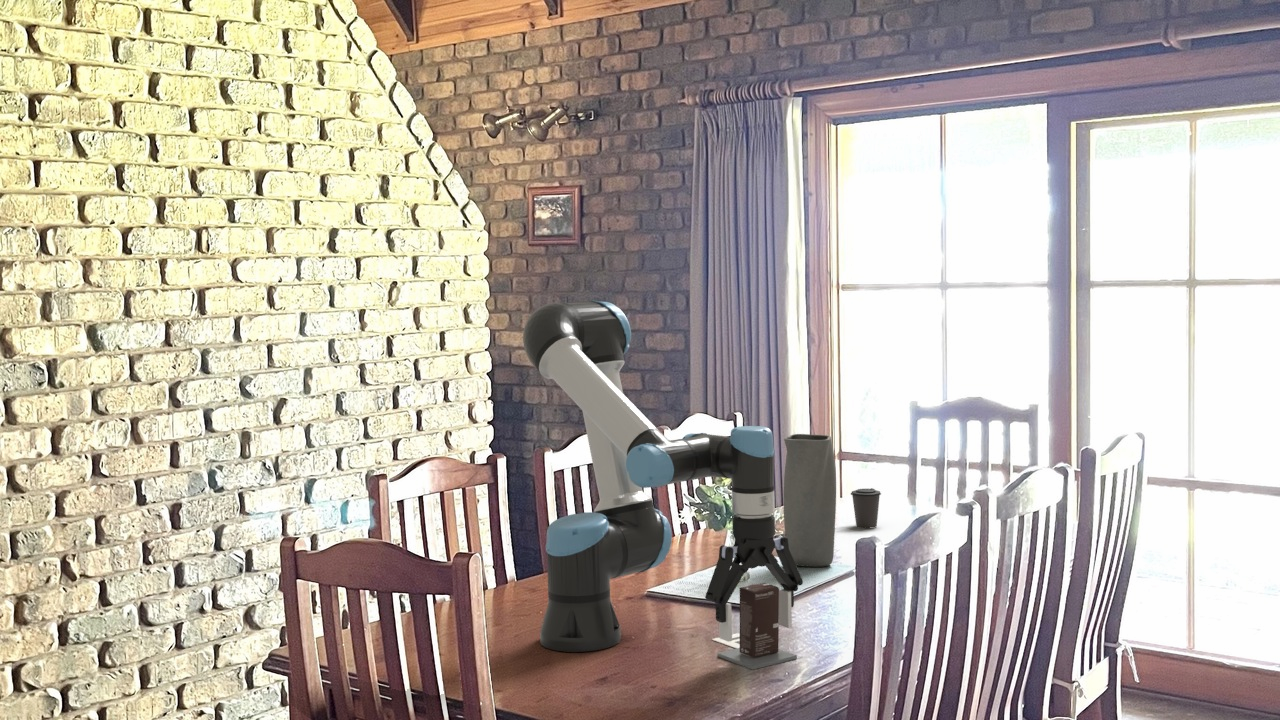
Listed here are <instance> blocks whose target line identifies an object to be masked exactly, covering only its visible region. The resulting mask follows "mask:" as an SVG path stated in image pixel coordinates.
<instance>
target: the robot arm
mask: <svg viewBox="0 0 1280 720" xmlns="http://www.w3.org/2000/svg"><path fill="white" fill-rule="evenodd" d="M626 316H627V315H625V313H624V312H623V311H622V310H621V308H619V307H618V306H617V305H615V304H614V303H611V302H609V301H599V300H588V301H587V300H586V301H573V302H551V303H547V304H546V303H545V305H542V306H540V307H538V308H537V309H536V310H534V312H533V313H532V314H530V316H529V317H528V319H527V320H526V323H525V325H524V328H523V333H522V342H523V344H522V345H523V349H524V351H525V354H526V356H527V358H528V360H529V362H530V364H532V366H533V367H534V368H535V370H536V371H538V373H539V374H540V375H541V376H542V377H543V378H544V379H546V380H553V381H554V382H555V383H556V384H557V385H558V386H559V387H560V389H562V390H563V392H565V394H566V395H567V396H568V397H569V398H570V399H571V400H572V401H573V402H574V403H575V404H576V405H577V406H578V407H579V409H580V410H581V411H582V416H583V420H584V425H585V430H586V437H587V441H588V446H589V452H590V455H591V456H590V457H591V461H592V462H591V463H592V465H593V467H592V468H593V470H594V477H595V481H596V486H597V493H598V496H599V497H598V498H599V502H598V504H597V505H596V506H595V508H594V509H593V512H581V513H573V514H567V515H564V516H562V517H560V518H558V519H555V520H554V521H552V522H551V523H550V524H549V525H548V527H547V530H546V543H545V551H546V568H547V596H548V598H547V599H548V602H547V605H546V610H545V613H544V617H543V620H542V624H541V627H540V631H539V637H540V638H539V639H540V640H539V641H540V645H541V646H542V647H544V648H546V649H549V650H553V651H556V652H557V651H558V652H568V653H580V652H581V653H582V652H583V653H584V652H585V653H586V652H592V651H593V652H594V651H600V650H605V649H608V648H612V647H613V646H616V645H617V644H619V643H620V642H621V640H622V637H621V632H622V631H621V626H620V623H619V621H618V620H619V619H618V618H617V614H616V612H615V609H614V606H613V603H612V601H611V600H612V599H611V585H610V584H611V583H610V582H611V580H613V579H617V578H621V577H624V576H628V575H632V574H637V573H638V574H639V573H644V572H647V571H649V570H650V569H653V568H656V567H658V566H660V565H661V564H662V563H663V562H664V561H665V560H666V558H667V556H668V554H669V552H670V551H671V546H672V540H673V539H672V528H671V525H670V522H669V519H668V518H667V517H666V516H664V513H663V512H662V511H661V510H659V509H656V508H655V506H654V501H653V498H652V497H650V496H649V495H648V494H647V493H645V492H644V491H643V488H645V489H646V488H647V489H648V488H660V487H665V486H666V485H672V484H677V483H681V482H687V481H694V480H699V479H703V478H704V479H705V478H711V477H714V478H723V479H729V480H731V512H732V513H733V514H734V515H733V516H732V518H731V519H732V535H733V537H734V538H733V539H734V544H733V546H731V545H730V546H727V545H723V544H721V545H720V546H719V549H718V550H719V552H718V560H717V562H716V564H715V568H714V571H713V574H712V577H711V579H710V582H709V585H708V587H707V591H706V593H705V596H704V598H705V600H706V601H709V602H712V603H714V604H715V605H714V606H715V620H716V622H718V637H719V638H720V639H723V640H726V641H728V642H729V641H732V634H733V627H732V626H733V625H732V624H733V622H732V615H733V614H732V603H729V600H730V599H731V597H732V595H733V593H734V592H735V589H736V588H737V586H738V584H739V583H740V582H741V579H742V577H743V576H744V575H745V573H747V572H749V570H750V569H755V568H757V567H766V568H767V570H768V571H769V572H770V573H771V575H772V576H773V578H774V579H775V580H776V581H777V582H778V584H779V585H780V587H781V588H779V626H782V627H785V628H788V629H790V628H792V627H793V624H792V623H793V622H792V621H793V620H792V619H793V618H792V615H793V614H792V608H793V607H794V605H795V602H794V599H795V597H794V596H795V595H794V594H795V593H794V592H797V591H798V590H799V586H802V585H803V582H804V580H803V578H802V575H801V574H800V571H799V568H798V567H797V566H798V565H796V564H795V562H794V559H793V557H792V555H791V553H790V550H789V545H788V539H787V538H786V537H785V536H781V535H776V517H775V516H774V514H773V513H775V512H776V511H775V501H776V500H775V499H776V498H775V484H774V483H775V481H774V479H775V478H774V477H775V476H774V475H775V451H776V450H775V447H774V446H775V445H774V436H773V435H774V434H773V431H772V430H771V429H770V428H768V427H766V426H761V425H759V426H758V425H756V426H755V425H745V426H737V427H733V428H732V429H731V430H730V436H726V435H719V434H717V435H716V434H708V433H705V432H701V433H688V434H686V435H684V436H683V437H682V438H680V439H679V438H677V439H672V440H670V439H668V438H667V437H666V436H665V435H664V434H663V433H662V432H661V430H659V429H658V428H657V427H656V426H655V425H654V424H653V423H652V422H651V421H650V420H649V419H648V417H647V416H645V414H643V413H642V412H641V410H640V409H639V408H637V406H636V405H635V404H634V403H633V402H632V400H630V399H629V398H628V397H627V396H626V395H625V394H624V391H623V386H622V380H621V375H620V372H621V370H622V368H623V367H624V365H625V358H624V355H625V354H626V353H627V352H628V350H629V349H630V343H631V341H632V330H631V326H630V322H629V319H628V318H627V317H626ZM774 550H775V552H776V555H777V557H778V559H779V560H778V559H777V558H776V557H775V555H774V554H773V551H774ZM779 561H780V564H781V565H782V566H781V565H780V564H779Z"/></svg>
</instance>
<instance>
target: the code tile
mask: <svg viewBox="0 0 1280 720" xmlns="http://www.w3.org/2000/svg"><path fill="white" fill-rule="evenodd" d="M711 641H713V642H717V643H719V644H722V645H726V646H728V647H730V648H734V649H737V648H740V632H737V633H732V641H729V642H728V641H726V640H723V639H720V638H719V636H718V637H714V638H711Z"/></svg>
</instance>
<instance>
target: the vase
mask: <svg viewBox="0 0 1280 720" xmlns="http://www.w3.org/2000/svg"><path fill="white" fill-rule="evenodd" d="M783 441H784V444H785V448H786V456H785V463H784V464H785V466H784V474H783V522H784V535H785V536H784V537H786V538H787V539H788V545H789V550H790V553H791V555H792V557H793V559H794V562H795V564H796V566H799V567H807V568H809V567H814V568H815V567H816V568H821V567H828V566H830V565H831V564H832V563H833V561H834V555H835V552H834V551H835V536H836V535H835V531H836V514H837V513H836V511H837V470H836V469H837V468H836V460H835V452H834V447H833V441H832V436H831V435H827V434H808V433H793V434H790V435H789V436H785V437H784V438H783Z"/></svg>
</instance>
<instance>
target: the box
mask: <svg viewBox="0 0 1280 720" xmlns="http://www.w3.org/2000/svg"><path fill="white" fill-rule="evenodd" d="M779 589H780V587H778V586H776V585H774V584H769V583H768V582H767V583H766V582H762V583H758V584H757V583H756V584H750V585H746V586H742V587H739V633H740V653H741V654H742V655H745V656H748V657H752V658H755V657H759V656H763V655H767V654H772V653H777V652H779V651H778V649H779V644H780V643H779V642H780V641H779V637H780V636H779V630H780V629H779V627H780V625H779Z"/></svg>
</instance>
